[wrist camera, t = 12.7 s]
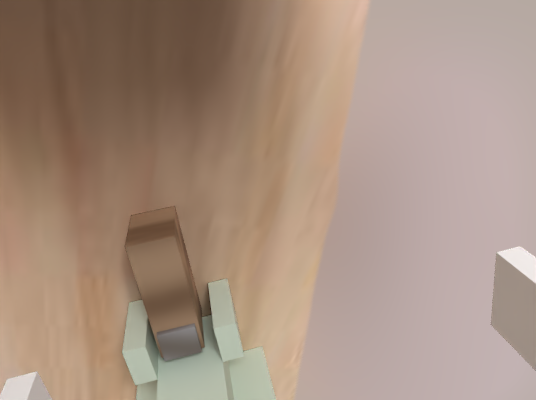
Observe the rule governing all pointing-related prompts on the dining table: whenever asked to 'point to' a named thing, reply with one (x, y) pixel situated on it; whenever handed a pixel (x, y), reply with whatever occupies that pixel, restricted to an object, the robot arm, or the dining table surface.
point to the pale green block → (197, 358)
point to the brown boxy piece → (166, 282)
